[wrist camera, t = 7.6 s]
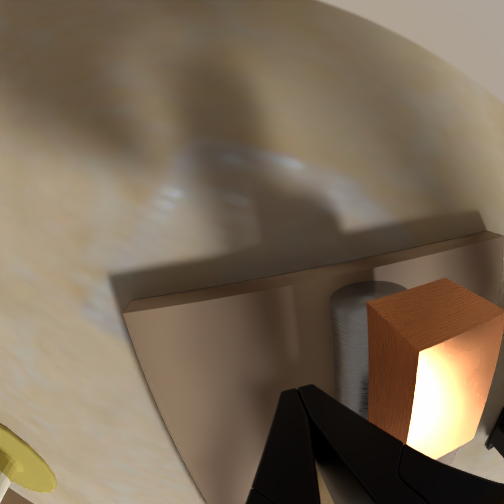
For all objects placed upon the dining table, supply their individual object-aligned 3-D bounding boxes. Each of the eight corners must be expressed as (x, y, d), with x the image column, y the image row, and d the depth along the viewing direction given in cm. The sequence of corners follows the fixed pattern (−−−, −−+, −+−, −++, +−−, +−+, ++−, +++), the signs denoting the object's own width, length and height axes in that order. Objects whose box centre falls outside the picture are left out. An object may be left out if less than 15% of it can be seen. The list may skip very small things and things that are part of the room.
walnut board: (487, 230, 15) (504, 235, 13) (435, 474, 21) (441, 484, 19) (131, 300, 14) (122, 313, 13) (232, 531, 20) (233, 543, 18)
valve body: (398, 267, 14) (486, 319, 8) (371, 507, 19) (392, 556, 13) (294, 290, 14) (342, 371, 8) (315, 524, 19) (330, 577, 13)
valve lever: (400, 512, 11) (416, 544, 9) (357, 529, 11) (370, 563, 9) (444, 277, 8) (506, 311, 5) (366, 301, 8) (418, 352, 5)
